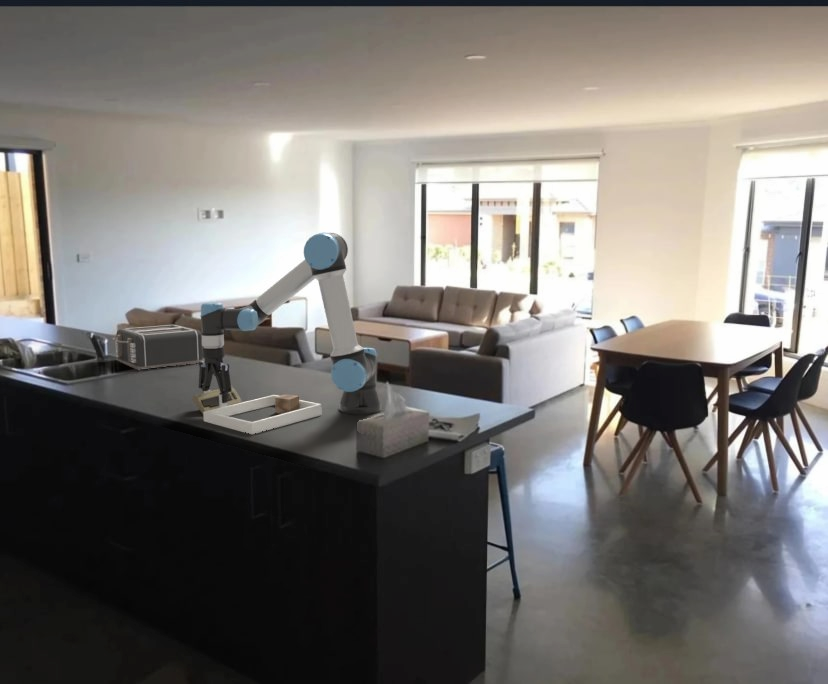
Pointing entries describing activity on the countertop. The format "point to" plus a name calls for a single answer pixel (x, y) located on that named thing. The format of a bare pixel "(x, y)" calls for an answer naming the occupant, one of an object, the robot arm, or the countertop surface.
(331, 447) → the countertop surface
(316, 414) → the bin
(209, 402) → the computer
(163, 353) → the toaster
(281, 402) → the block
